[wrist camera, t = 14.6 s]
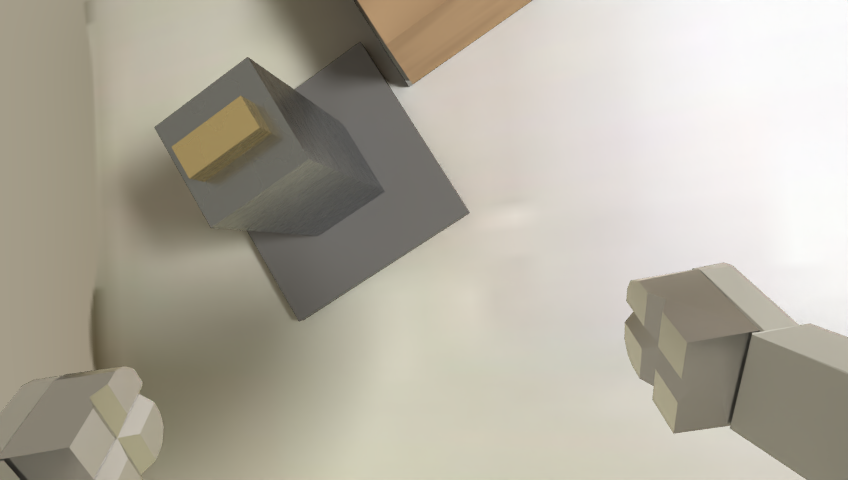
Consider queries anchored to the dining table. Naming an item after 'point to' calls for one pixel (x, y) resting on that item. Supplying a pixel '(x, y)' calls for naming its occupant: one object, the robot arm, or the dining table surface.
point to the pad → (380, 218)
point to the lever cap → (266, 156)
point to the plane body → (431, 28)
